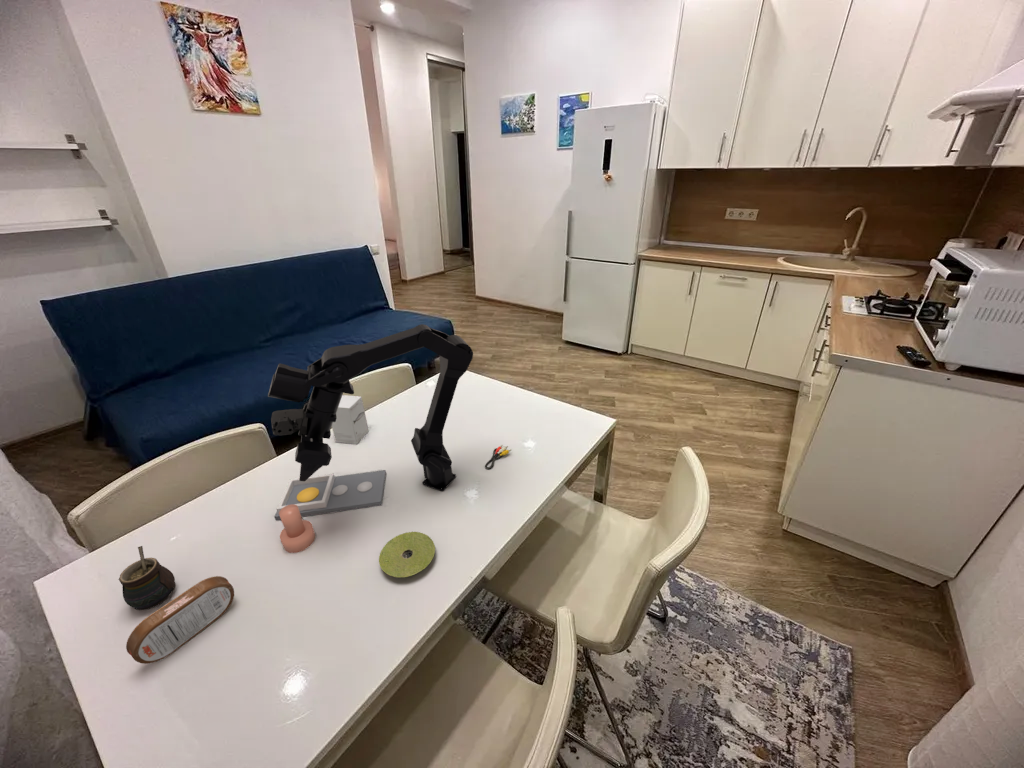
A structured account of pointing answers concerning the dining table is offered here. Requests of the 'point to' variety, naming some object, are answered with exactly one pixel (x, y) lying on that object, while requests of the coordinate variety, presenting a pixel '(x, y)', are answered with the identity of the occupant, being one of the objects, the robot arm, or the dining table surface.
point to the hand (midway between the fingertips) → (302, 468)
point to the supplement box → (350, 420)
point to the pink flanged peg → (295, 530)
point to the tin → (180, 620)
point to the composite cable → (497, 456)
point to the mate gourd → (146, 583)
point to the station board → (334, 493)
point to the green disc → (407, 554)
